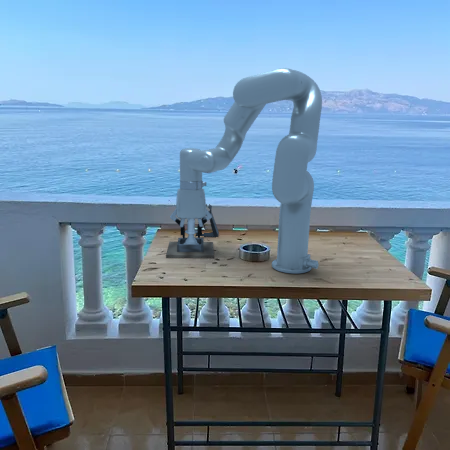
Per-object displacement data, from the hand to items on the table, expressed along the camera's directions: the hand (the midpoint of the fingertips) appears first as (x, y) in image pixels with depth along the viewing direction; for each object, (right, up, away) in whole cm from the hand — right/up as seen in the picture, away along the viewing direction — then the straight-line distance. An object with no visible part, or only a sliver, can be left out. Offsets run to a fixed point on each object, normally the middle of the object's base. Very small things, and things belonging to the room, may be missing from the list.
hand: (191, 236), depth 159 cm
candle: (0, -3, +1) cm, 3 cm away
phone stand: (+5, 0, +22) cm, 22 cm away
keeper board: (0, -5, +1) cm, 5 cm away
